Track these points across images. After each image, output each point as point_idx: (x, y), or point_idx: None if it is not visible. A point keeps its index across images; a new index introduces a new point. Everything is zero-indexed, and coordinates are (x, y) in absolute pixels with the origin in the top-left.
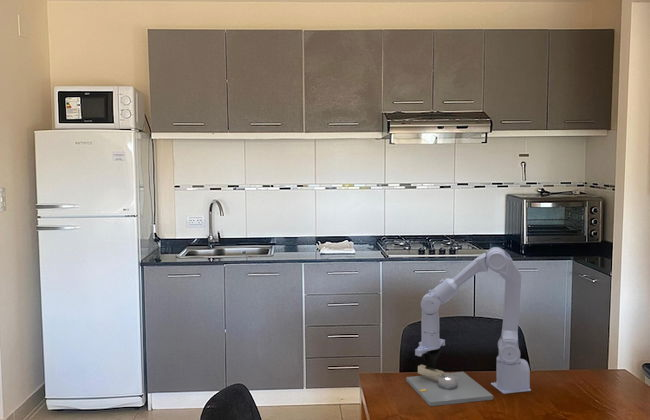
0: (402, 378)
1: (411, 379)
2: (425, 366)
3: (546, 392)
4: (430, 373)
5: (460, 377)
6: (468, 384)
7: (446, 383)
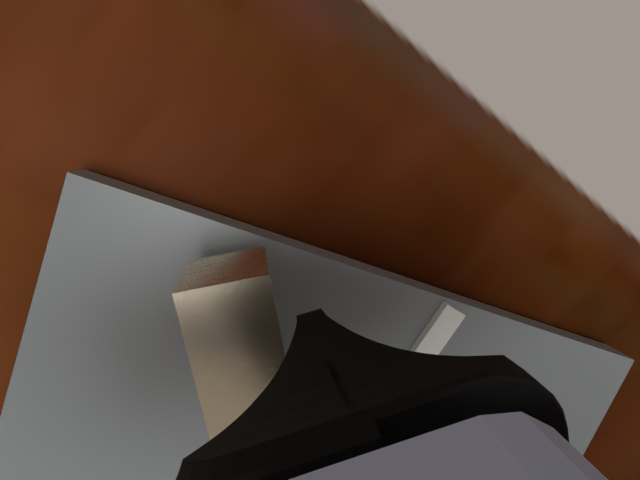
0: (102, 73)
1: (83, 262)
2: (262, 361)
3: None
4: None
5: None
6: None
7: None
